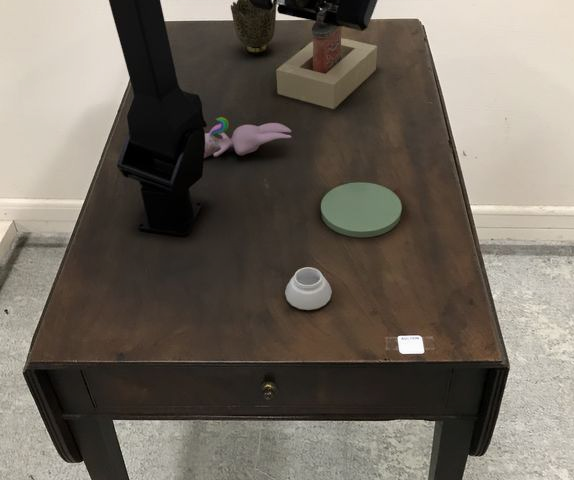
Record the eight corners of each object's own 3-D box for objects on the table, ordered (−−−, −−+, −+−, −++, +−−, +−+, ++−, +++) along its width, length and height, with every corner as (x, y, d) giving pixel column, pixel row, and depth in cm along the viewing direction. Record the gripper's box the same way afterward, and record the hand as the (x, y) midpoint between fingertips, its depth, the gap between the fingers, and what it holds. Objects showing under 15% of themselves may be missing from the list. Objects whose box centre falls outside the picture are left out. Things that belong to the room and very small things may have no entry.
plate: (395, 242, 83) (395, 236, 82) (312, 231, 85) (312, 225, 84) (406, 193, 89) (406, 186, 89) (329, 184, 91) (329, 178, 91)
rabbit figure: (187, 175, 96) (293, 157, 94) (173, 137, 92) (284, 118, 90) (192, 150, 101) (293, 132, 98) (179, 113, 96) (285, 94, 94)
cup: (233, 62, 116) (228, 14, 110) (236, 42, 121) (232, -5, 115) (277, 61, 116) (275, 13, 110) (279, 41, 121) (277, -6, 115)
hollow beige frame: (333, 109, 104) (334, 84, 102) (269, 91, 109) (268, 67, 106) (375, 70, 112) (377, 45, 110) (314, 55, 117) (314, 31, 114)
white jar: (315, 318, 75) (339, 291, 77) (315, 299, 72) (340, 271, 75) (277, 301, 77) (301, 275, 79) (275, 281, 74) (301, 255, 77)
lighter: (326, 57, 112) (327, -8, 105) (346, 60, 111) (348, -5, 104) (307, 79, 107) (306, 13, 100) (327, 83, 106) (328, 16, 99)
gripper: (379, -86, 86) (408, -21, 100) (253, -104, 93) (297, -42, 107) (346, 2, 87) (380, 53, 101) (224, -23, 94) (272, 28, 108)
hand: (331, 20), depth 104 cm, fingers closed on lighter, 3 cm apart
